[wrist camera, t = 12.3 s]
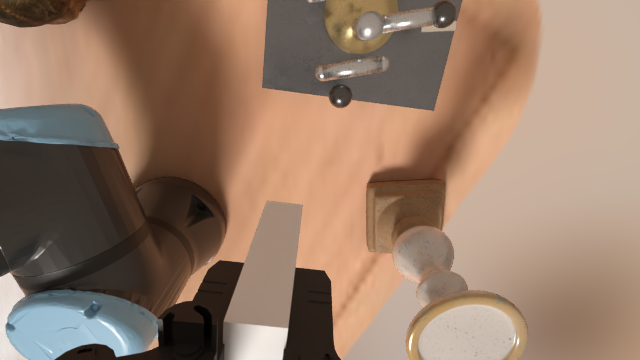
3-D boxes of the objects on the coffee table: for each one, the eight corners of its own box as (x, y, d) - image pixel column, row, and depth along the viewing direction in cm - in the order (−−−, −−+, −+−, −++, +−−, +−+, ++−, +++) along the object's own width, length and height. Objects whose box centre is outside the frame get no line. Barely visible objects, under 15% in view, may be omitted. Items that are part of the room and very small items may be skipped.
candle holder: (366, 182, 48) (405, 295, 26) (441, 178, 48) (546, 289, 26) (366, 246, 52) (400, 392, 30) (436, 243, 52) (522, 387, 30)
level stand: (264, 86, 43) (259, 89, 39) (274, -59, 37) (269, -72, 34) (429, 108, 44) (439, 113, 40) (463, -30, 38) (479, -39, 35)
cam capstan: (431, 83, 41) (460, 92, 33) (320, 100, 42) (320, 112, 33) (428, -55, 36) (462, -87, 27) (301, -33, 36) (295, -57, 28)
